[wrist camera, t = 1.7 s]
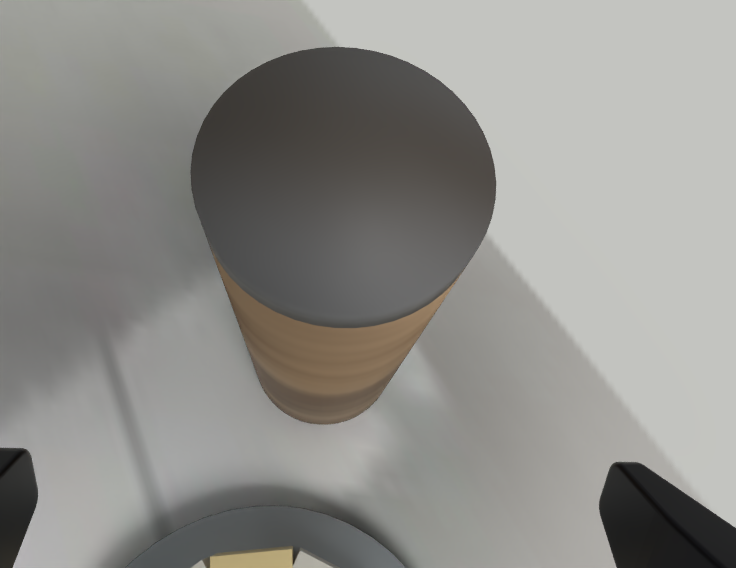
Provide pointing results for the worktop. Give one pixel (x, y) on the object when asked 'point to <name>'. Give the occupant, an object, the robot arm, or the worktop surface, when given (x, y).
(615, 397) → the worktop surface
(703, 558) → the robot arm
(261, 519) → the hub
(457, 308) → the worktop surface
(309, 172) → the brown wooden canister
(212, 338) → the worktop surface
